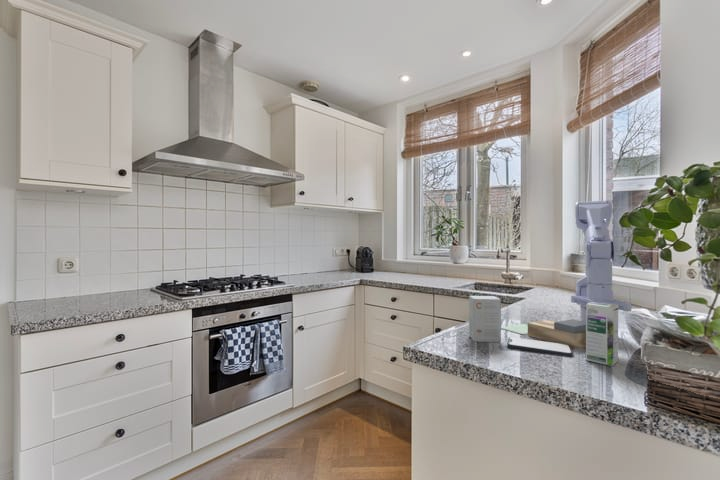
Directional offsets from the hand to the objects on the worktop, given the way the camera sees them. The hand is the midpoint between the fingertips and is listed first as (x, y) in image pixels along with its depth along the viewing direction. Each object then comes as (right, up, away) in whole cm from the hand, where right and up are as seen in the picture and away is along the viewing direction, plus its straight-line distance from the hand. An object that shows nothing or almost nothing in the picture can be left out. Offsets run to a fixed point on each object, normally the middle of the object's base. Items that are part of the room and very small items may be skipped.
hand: (599, 332), depth 95 cm
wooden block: (-5, -5, +10) cm, 12 cm away
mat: (-11, -5, +22) cm, 25 cm away
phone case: (-16, -6, +1) cm, 17 cm away
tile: (-3, -1, +6) cm, 7 cm away
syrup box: (-6, -5, -9) cm, 12 cm away
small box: (-29, -5, +10) cm, 31 cm away
